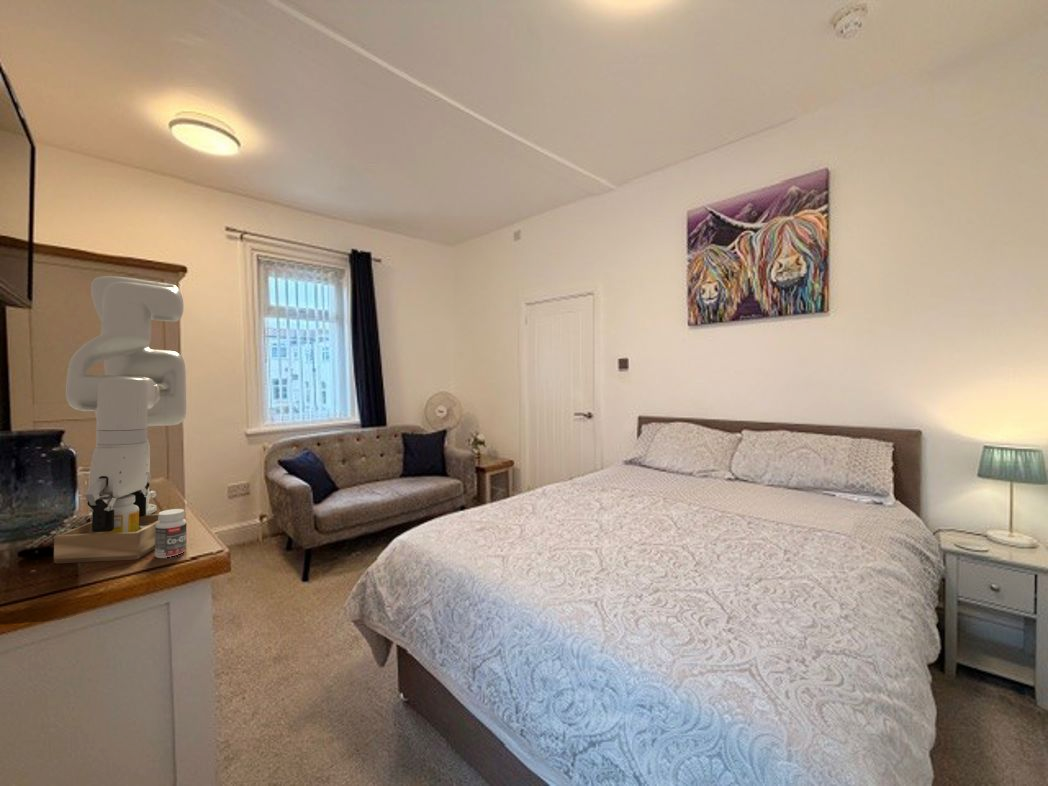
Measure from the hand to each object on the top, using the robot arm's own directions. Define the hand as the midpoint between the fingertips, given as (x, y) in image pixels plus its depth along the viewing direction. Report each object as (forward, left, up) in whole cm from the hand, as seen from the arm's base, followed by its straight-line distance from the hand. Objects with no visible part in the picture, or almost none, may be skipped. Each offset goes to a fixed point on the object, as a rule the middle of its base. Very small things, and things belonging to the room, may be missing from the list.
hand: (120, 523), depth 87 cm
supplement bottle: (0, 0, -4) cm, 5 cm away
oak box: (0, 0, -5) cm, 5 cm away
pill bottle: (+4, +11, -5) cm, 13 cm away
